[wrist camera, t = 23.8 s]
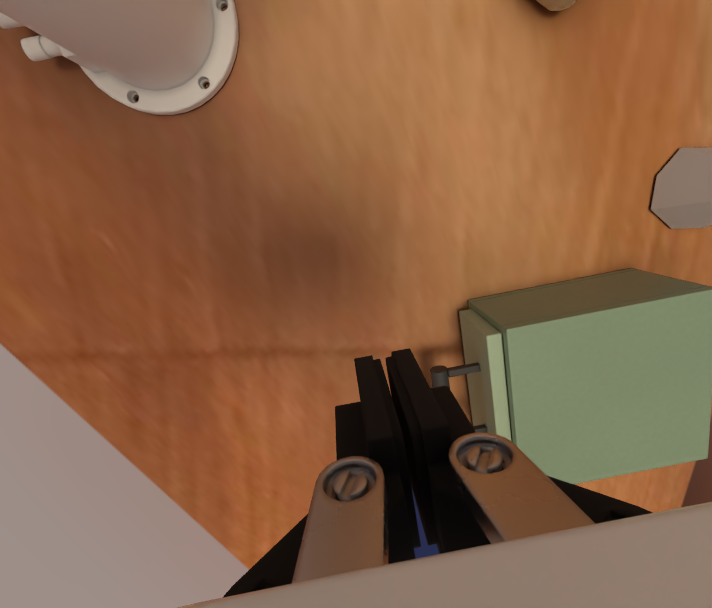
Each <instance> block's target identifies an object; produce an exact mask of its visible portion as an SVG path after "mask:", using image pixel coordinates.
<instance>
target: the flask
mask: <svg viewBox="0 0 712 608" xmlns="http://www.w3.org/2000/svg"><path fill="white" fill-rule="evenodd" d="M651 210H652V211H653V212H654V213H655V214H656V215H657V216H658V217H659V218H660V219H662V220H663V221H664V222H665V223H666V224H667V225H668V226H669V227H670V228H671V229H683V228H704V227H708V226H711V225H712V147H708V148H680V149H679V151H678V152H677V153H676V154H675V155H674V156H673V158H672V159H671V160H670V161H669V162H668V163H667V165H666V166H665V167H664V168H663V169H662V170H661V172H660V173H659V174H658V175H657V177H656V183H655V188H654V194H653V200H652V205H651Z"/></svg>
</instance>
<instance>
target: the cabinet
mask: <svg viewBox="0 0 712 608" xmlns="http://www.w3.org/2000/svg"><path fill="white" fill-rule="evenodd" d="M468 306H469V309H472V310H473V311H475V312H476V313H477V314H478V315H480V316H481V317H482V318H483V319H484V320H486V321H487V322H488V323H489V324H491V325H492V326H493V327H494V328H496V329H497V330H498V331H499V332H500V333H501V334H502V335H503V341H504V352H505V363H506V374H507V385H508V395H509V406H510V417H511V428H512V439H513V443H514V444H515V445H516V446H517V447H518V448H519V449H520V450H521V451H522V452H523V453H524V454H525V455H526V456H527V457H528V458H529V459H530V460H531V461H532V462H533V463H534V464H535V465H536V466H537V467H538V468H540V469H541V470H542V471H543V472H544V473H545V474H546V475H547V476H550V477H553V478H556V479H559V480H562V481H565V482H568V483H571V484H577V483H582V482H587V481H593V480H598V479H603V478H608V477H613V476H618V475H624V474H629V473H634V472H639V471H644V470H649V469H655V468H660V467H665V466H670V465H675V464H680V463H685V462H691V461H696V460H701V459H706V458H708V444H709V428H710V413H711V398H712V287H711V286H706V285H702V284H697V283H693V282H689V281H684V280H680V279H676V278H672V277H667V276H663V275H659V274H654V273H650V272H646V271H642V270H637V269H633V268H629V269H624V270H619V271H614V272H609V273H604V274H598V275H593V276H588V277H583V278H578V279H573V280H568V281H563V282H557V283H552V284H547V285H542V286H537V287H532V288H527V289H522V290H516V291H511V292H506V293H501V294H496V295H491V296H486V297H481V298H475V299H470V300H468Z"/></svg>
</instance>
